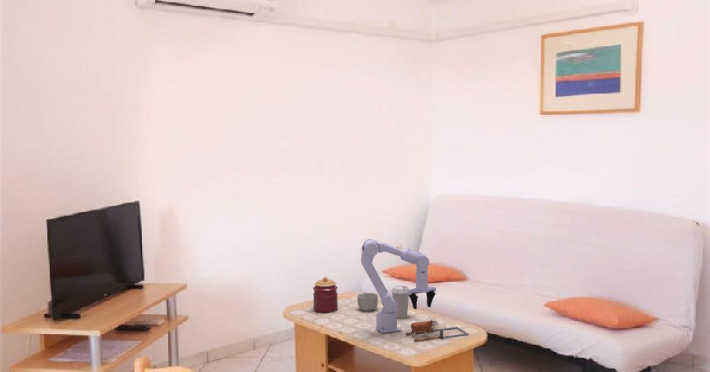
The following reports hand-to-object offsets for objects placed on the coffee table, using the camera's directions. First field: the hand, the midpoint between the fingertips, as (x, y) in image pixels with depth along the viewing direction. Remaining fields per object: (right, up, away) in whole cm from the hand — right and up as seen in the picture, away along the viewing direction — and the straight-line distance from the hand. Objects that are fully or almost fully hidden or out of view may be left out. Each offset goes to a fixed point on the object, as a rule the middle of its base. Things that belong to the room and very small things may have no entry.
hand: (421, 307), depth 291 cm
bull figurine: (0, -11, -11) cm, 16 cm away
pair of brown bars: (-1, -11, -11) cm, 16 cm away
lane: (+12, -10, -7) cm, 17 cm away
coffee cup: (-9, -9, +20) cm, 23 cm away
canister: (-47, -8, +34) cm, 59 cm away
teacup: (-25, -8, +34) cm, 43 cm away
